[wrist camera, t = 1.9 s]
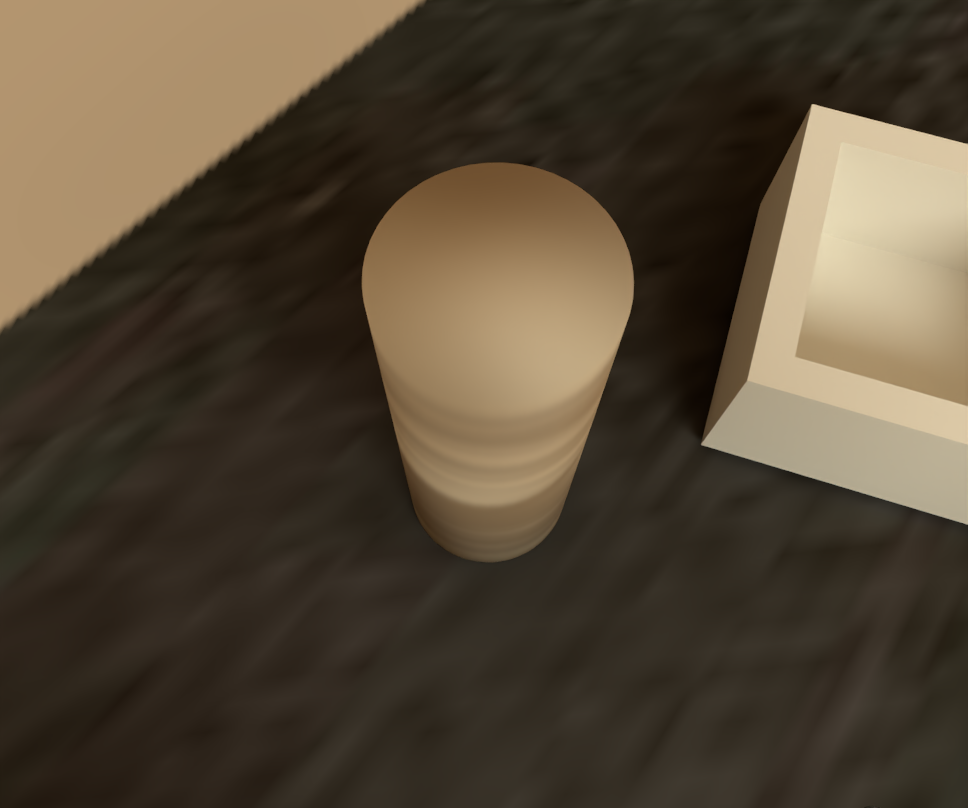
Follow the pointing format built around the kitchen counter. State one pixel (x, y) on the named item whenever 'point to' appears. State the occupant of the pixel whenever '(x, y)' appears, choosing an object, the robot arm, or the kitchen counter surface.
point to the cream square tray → (856, 317)
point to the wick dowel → (494, 346)
